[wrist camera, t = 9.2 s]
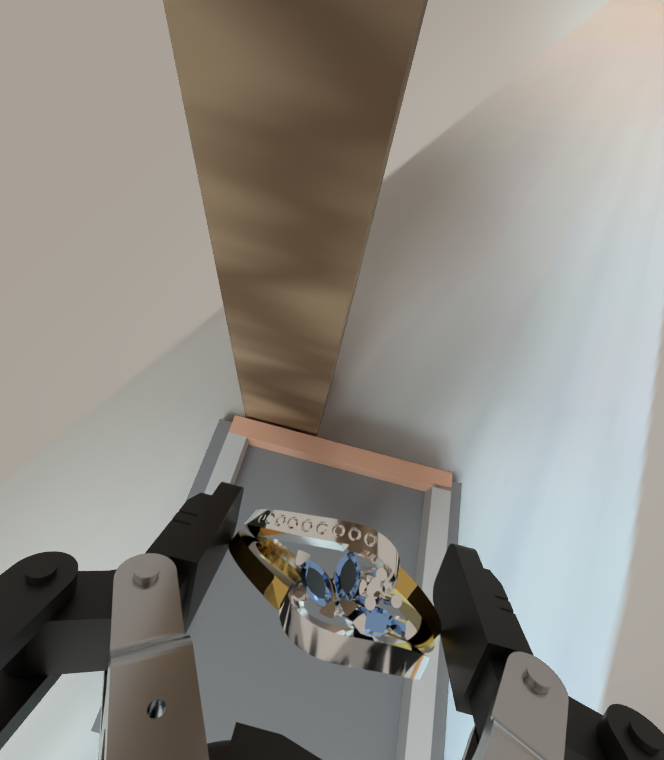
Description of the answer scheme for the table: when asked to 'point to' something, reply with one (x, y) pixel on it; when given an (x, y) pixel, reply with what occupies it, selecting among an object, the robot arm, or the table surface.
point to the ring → (339, 592)
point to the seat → (262, 622)
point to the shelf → (290, 173)
